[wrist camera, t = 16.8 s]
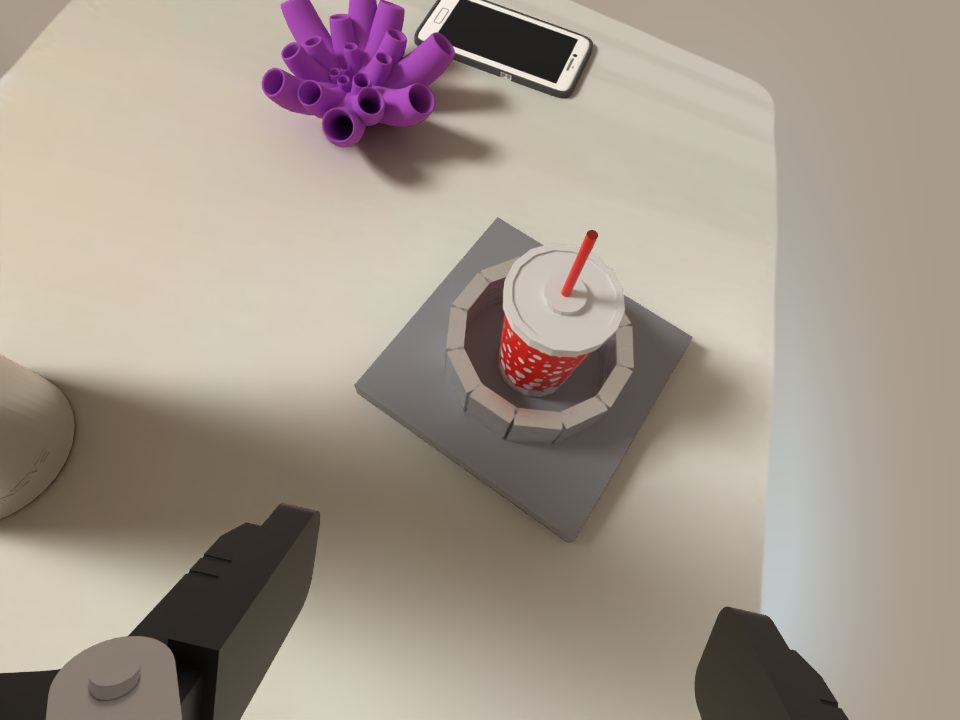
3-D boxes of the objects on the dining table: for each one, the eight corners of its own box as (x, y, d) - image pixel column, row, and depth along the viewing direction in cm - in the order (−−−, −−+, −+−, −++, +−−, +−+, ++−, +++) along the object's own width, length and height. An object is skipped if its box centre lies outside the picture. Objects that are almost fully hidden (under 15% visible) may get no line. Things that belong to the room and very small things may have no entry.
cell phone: (445, -4, 51) (446, -15, 50) (593, 49, 50) (596, 39, 49) (410, 47, 48) (410, 37, 47) (567, 104, 47) (569, 95, 46)
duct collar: (411, 377, 34) (409, 355, 31) (507, 258, 38) (514, 228, 35) (559, 479, 33) (573, 467, 29) (643, 344, 37) (664, 320, 33)
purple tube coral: (398, 83, 50) (465, 12, 44) (367, 214, 45) (439, 157, 38) (282, -7, 44) (340, -106, 37) (227, 134, 38) (284, 46, 31)
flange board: (357, 393, 35) (354, 385, 34) (495, 229, 41) (497, 217, 40) (568, 542, 33) (574, 540, 31) (683, 346, 39) (692, 337, 37)
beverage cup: (545, 306, 37) (607, 156, 24) (598, 380, 35) (695, 260, 22) (468, 347, 35) (490, 209, 23) (519, 426, 34) (575, 325, 21)
